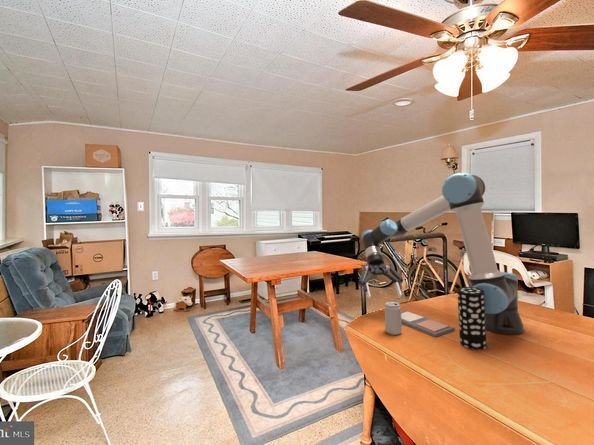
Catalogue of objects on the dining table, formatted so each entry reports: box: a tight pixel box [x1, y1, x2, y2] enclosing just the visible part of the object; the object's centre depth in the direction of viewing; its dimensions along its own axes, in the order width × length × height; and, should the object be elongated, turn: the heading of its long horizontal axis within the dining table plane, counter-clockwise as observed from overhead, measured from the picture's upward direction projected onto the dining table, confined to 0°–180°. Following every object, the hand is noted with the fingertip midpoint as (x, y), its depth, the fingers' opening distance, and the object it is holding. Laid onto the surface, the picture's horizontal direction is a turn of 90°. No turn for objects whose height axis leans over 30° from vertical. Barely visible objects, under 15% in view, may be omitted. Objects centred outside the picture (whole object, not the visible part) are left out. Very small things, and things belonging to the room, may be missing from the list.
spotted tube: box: [456, 286, 488, 351], centre depth 104 cm, size 8×8×20 cm
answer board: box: [401, 310, 456, 338], centre depth 125 cm, size 24×12×2 cm, turn 28°
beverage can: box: [384, 301, 403, 336], centre depth 117 cm, size 6×6×12 cm
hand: (384, 297), depth 125 cm, fingers open, 13 cm apart
